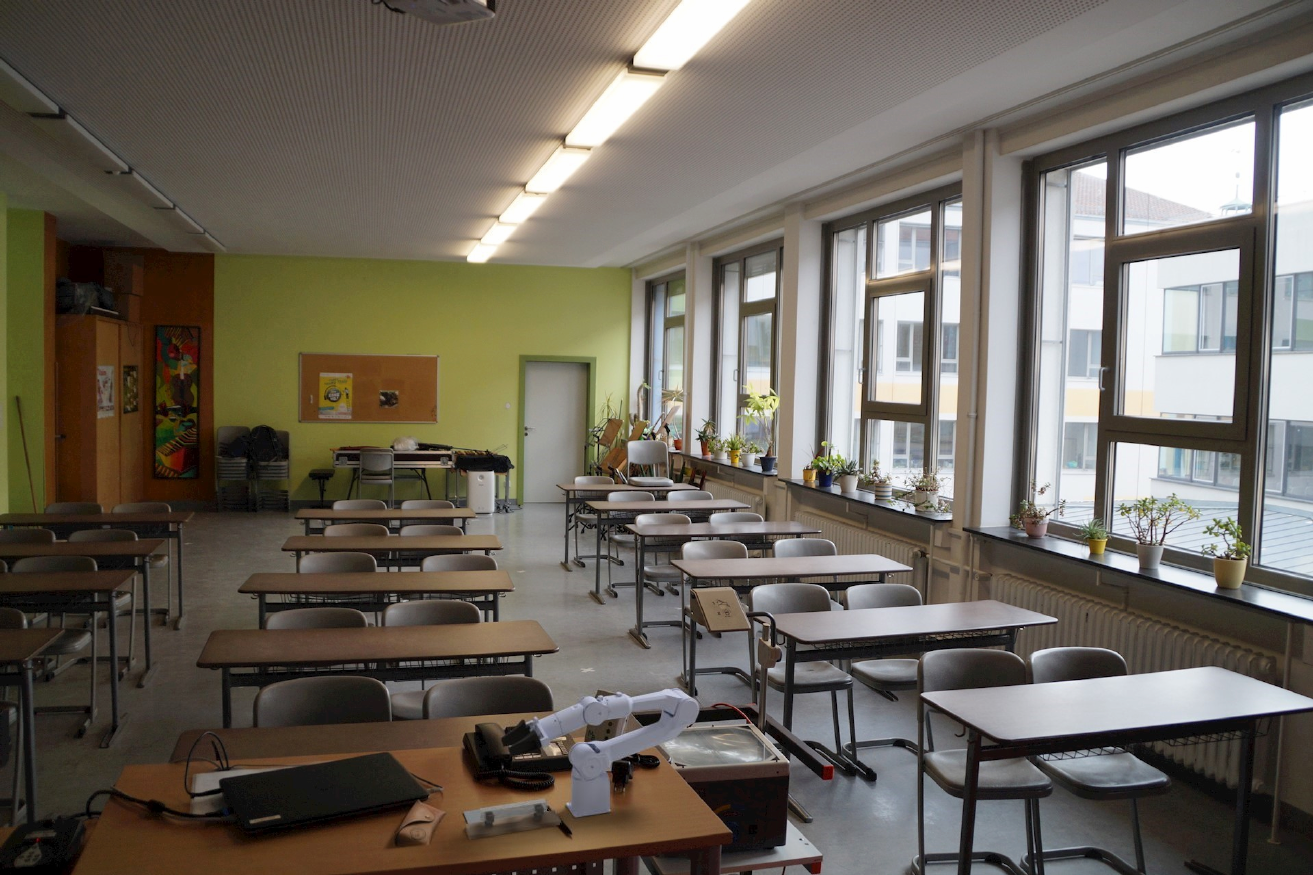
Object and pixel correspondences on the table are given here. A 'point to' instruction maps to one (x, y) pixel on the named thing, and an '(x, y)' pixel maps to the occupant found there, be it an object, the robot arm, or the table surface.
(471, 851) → the table surface
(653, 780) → the table surface
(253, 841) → the table surface
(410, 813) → the sunglasses case
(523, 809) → the rail
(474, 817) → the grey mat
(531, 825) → the hook rack
